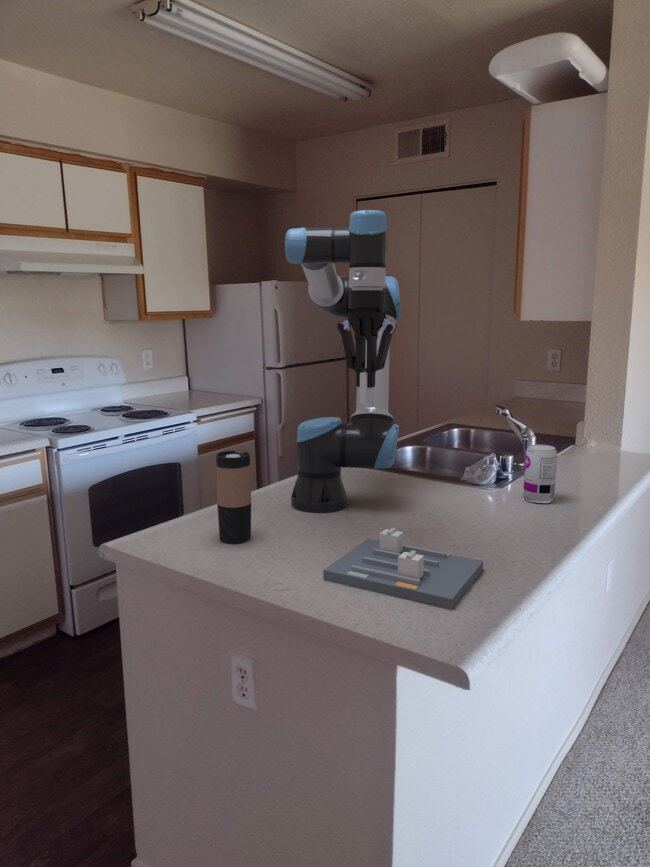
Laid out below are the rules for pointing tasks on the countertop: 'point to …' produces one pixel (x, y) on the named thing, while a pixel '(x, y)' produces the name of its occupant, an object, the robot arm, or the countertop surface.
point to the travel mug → (234, 496)
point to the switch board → (380, 574)
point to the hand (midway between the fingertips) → (365, 402)
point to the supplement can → (540, 473)
